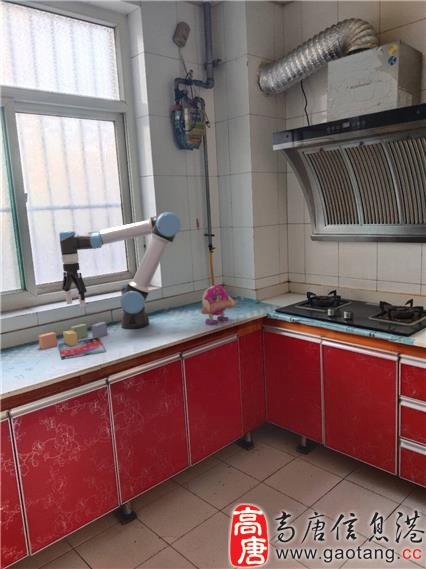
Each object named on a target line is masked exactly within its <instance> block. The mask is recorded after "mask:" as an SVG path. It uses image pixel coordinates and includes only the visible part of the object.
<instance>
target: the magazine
mask: <svg viewBox="0 0 426 569" xmlns="http://www.w3.org/2000/svg"><path fill="white" fill-rule="evenodd" d="M57 346H58V351H59V354H60V358H61V359H60V360H62V361H63V360H64V361H65V360H68V359H69V360H70V359H75V358H81V357H87V356H92V355H98V354H103V353H107V350H106V349H105V347H104V344H103V343H102V341H101V340H100V337H98V338H96V337H92V338H88V339H82V340H78V344H76V345H72V346H70V345H68V344H65V343H64V342H63V343H57Z"/></svg>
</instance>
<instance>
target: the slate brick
mask: <svg viewBox="0 0 426 569" xmlns="http://www.w3.org/2000/svg"><path fill="white" fill-rule="evenodd" d="M107 328H108V326H107V322H104V321H103V322H102V321H100V322H98V323H95V324H92V325H91V332H92V333H91V335H92V338H101V337H104V336H105V335H107V334H108V329H107Z"/></svg>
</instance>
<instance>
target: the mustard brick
mask: <svg viewBox="0 0 426 569" xmlns="http://www.w3.org/2000/svg"><path fill="white" fill-rule="evenodd" d="M62 333H63V343H65V344H68V345H70V346H72V345H76V344H78V341H79V339H77V333H76V332H73V331H71V329H70V330H67V331H63V332H62Z"/></svg>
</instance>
